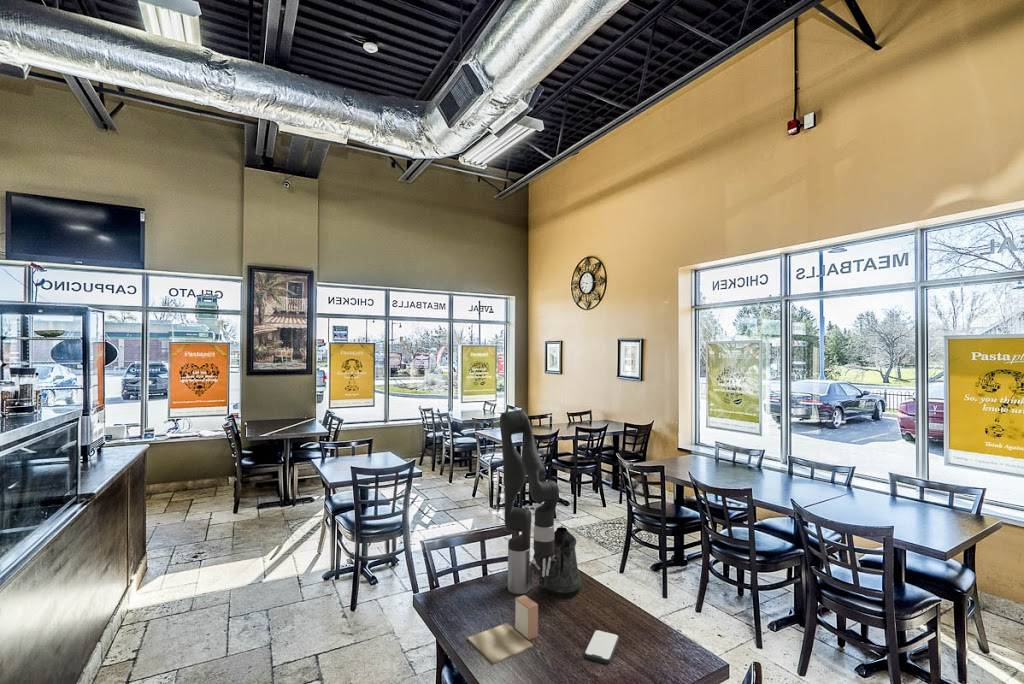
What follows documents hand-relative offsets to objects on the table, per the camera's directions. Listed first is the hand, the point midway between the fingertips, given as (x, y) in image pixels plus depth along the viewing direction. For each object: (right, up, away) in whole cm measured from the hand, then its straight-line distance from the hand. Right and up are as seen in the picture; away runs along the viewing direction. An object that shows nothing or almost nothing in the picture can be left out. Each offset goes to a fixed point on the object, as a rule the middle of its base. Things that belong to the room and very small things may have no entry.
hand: (543, 585), depth 177 cm
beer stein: (+10, -15, +26) cm, 32 cm away
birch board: (-15, -14, -11) cm, 23 cm away
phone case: (+19, -15, -13) cm, 27 cm away
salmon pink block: (-6, -14, -5) cm, 16 cm away
